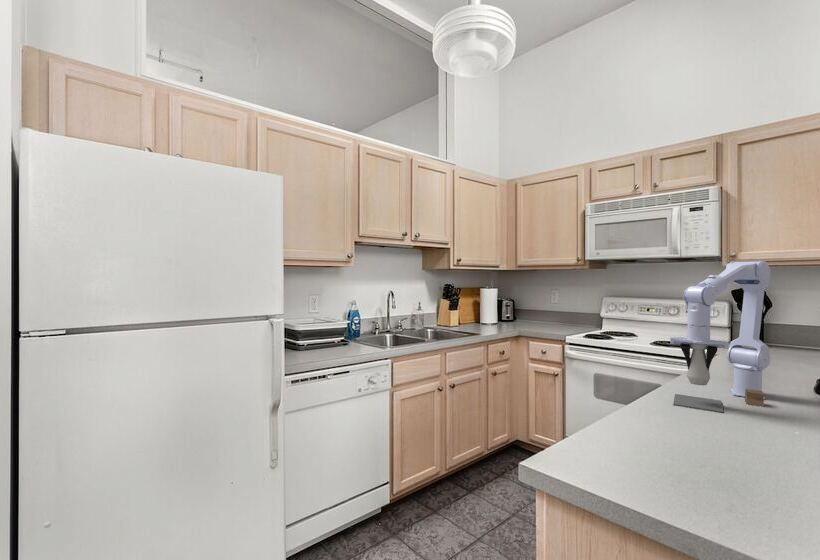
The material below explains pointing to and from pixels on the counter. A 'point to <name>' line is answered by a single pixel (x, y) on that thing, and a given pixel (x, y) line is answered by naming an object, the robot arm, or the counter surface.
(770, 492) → the counter surface
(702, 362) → the salt shaker
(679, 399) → the rubber mat
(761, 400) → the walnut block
